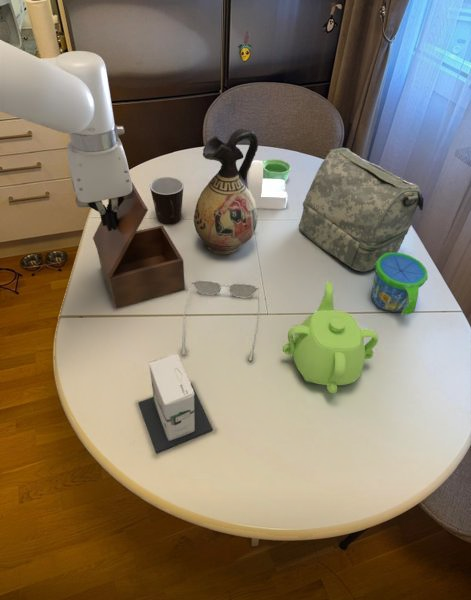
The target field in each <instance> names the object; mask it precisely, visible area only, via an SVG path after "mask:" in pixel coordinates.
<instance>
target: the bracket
mask: <svg viewBox="0 0 471 600" xmlns="http://www.w3.org/2000/svg"><path fill="white" fill-rule="evenodd" d="M263 162H264V161H263V160H255V159H253V161H252V163H251V167H250V168H249V170H248V174H247V182H248V189H249V190H250V192H251V194H252V196H253V198H254V201H255V204H256V209H268V210H269V209H272V210H284V209H286V207H287V201H288V191H285V190H286V182H285V181H284V180H282V179H263Z"/></svg>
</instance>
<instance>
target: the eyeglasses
mask: <svg viewBox="0 0 471 600" xmlns="http://www.w3.org/2000/svg"><path fill="white" fill-rule="evenodd" d="M192 285H193V286H194V288H195V289H196V291H197V293H198V294H201V295H208V296H209V295H211V296H213V295H214V296H215V295H216V294H217V293H220V291H221V287H226V288H227V287H228V291H229V294H232V295H233V296H234V297H236V298H242V299H243V298H245V299H247V298H251V297H253V295H254V294H255V293H256V292H257V293H258V294H260V292H261V291H260V290H261V288H260V287H259V286H256V285H254V284H250V283H232V284H230V285H228V284H226V283H224V284H220V283H219V282H217V281H213V280H205V279H201V280H200V279H198V280H195V281H190V283H189V290H188V294H187V297H186V300H185V304H187V302H188V298H189V295H190V291H191V288H192ZM186 308H187V305H185V306H184V310H183V311H184V312H183V316H182V317H183V320H182V345H181V354H182V356H186V346H185V319H186V316H185V313H186ZM259 316H260V308H258V312H257V319H259V318H260V317H259ZM258 326H259V320H257V321H256V325H255V330H254V335H253V341H252V345H251V349H250V352H249V357H248V361H249V362H251V361H253V356H254V349H255V343H256V342H255V341H256V336H257V331H258Z"/></svg>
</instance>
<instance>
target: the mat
mask: <svg viewBox="0 0 471 600" xmlns="http://www.w3.org/2000/svg"><path fill="white" fill-rule="evenodd" d="M190 383H191V386H192V388H193V391H194V418H195V431H194V432H192V433H189V434H187V435H184V436H182V437H179V438H176V439H173V440H170V441H169V440H168V438H167V436H166V433H165V430H164V428H163V425H162V422H161V419H160V417H159V414H158V411H157V409H156V406H155V403H154V397H153V396H152V397H150V398H146V399H144V400H141V401H138V406H139V409H140V412H141V414H142V418H143V421H144V423H145V426H146V430H147V431H148V435H149V438H150V440H151V443H152V446H153V449H154V451H155V454H159V453H163V452H164V451H166V450H169V449H171V448H174V447H176V446H179V445H181V444H184V443H186V442H188V441H191V440H194V439H195V438H198V437H200V436H203V435H205V434H208V433H211V432H212V431H213V430H214V429H213V426H212V424H211V422H210V421H209V418H208V415H207V413H206V412H205V409H204V407H203V405H202V403H201V400H200V398H199V396H198V394H197V392H196V390H195V388H194V386H193V383H192V382H190Z"/></svg>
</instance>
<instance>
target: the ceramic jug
mask: <svg viewBox="0 0 471 600" xmlns="http://www.w3.org/2000/svg"><path fill="white" fill-rule="evenodd" d="M244 140H245V141H249V145H248V149H247V151H246V153H245V156H244V154H243V152H242V151H241V149H240V148H239V147H237V144H238V143H240V142H243V141H244ZM258 148H259V137H258V135H257V134H256V132H255V131H254V130H252V129H249V128H246V129H245V128H240V129H237V130H235V131H234V132H233V133H231V135H229V138H228V141H227V142H226V143H224V142H223V141H222V140H221V138H220V137H218V136H215V135H214V136H213V137H212V138H210V139H209V140H208V141H207V142H206V143H205V146H204V147H203V149H202V157H203V158H204V159H205V160H210V161H216V162H219V163H220V165H221V166H220V169H219V170H218V171H217V173H216V174H215V175H214V176H213V177H212V178H211V179H210V180H209V182H208V183H207V185H205V187H204V188H203V190H202V191H201V193H200V195H199V197H198V199H197V201H196V205H195V209H194V214H193V224H194V229H195V232H196V234H197V235H198V237H199V238H200V239H201V241H203V242H204V243H205V247H206V248H207V249H209V251H211V252H212V253H215V254H218V255H231V254H234V253H236V252H238V251H239V250H240V249H241V247H242V246H243V245H245V244H246V243H247V242H248V241H249V240H250V239H252V237H253V236H254V234H255V231H256V229H257V224H258V210H257V209H258V208H256V204H255V201H254V198H253V196H252V194H251V192H250V190H249V189H248V182H247V174H248V170H249V168H250V167H251V163H252V161H253V160H255V159H254V158H255V157H256V153H257V151H258ZM243 158H244V159H243ZM242 159H243V161H242V163H241V165H240V167H239V168H238V167H237V162H238V161H239V160H242Z"/></svg>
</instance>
